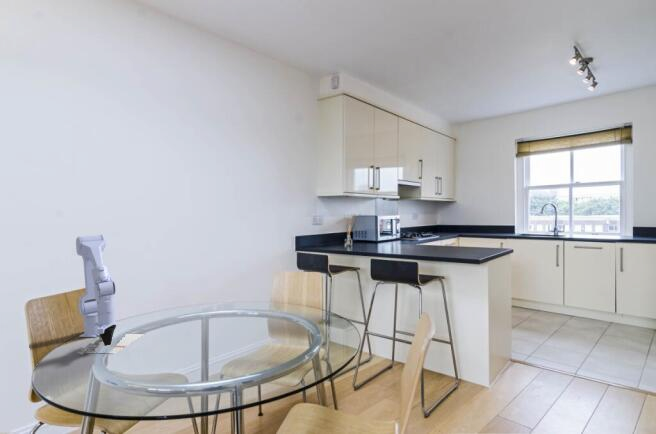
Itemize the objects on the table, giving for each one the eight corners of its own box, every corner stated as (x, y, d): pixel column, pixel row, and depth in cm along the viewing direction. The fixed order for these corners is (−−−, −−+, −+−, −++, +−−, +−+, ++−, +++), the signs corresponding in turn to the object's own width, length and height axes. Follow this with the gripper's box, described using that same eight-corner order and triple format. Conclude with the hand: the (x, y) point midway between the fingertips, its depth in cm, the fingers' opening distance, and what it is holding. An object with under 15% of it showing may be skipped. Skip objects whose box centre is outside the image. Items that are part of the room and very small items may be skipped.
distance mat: (120, 332, 155) (120, 332, 155) (145, 333, 154) (145, 333, 154) (84, 352, 135) (84, 352, 135) (113, 354, 134) (113, 353, 134)
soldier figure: (73, 356, 133) (94, 336, 145) (84, 363, 134) (104, 342, 146) (82, 345, 131) (103, 324, 142) (94, 352, 132) (113, 331, 143)
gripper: (100, 307, 144) (102, 338, 145) (87, 318, 131) (89, 354, 131) (120, 305, 146) (121, 336, 147) (108, 316, 132) (110, 351, 133)
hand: (107, 344), depth 139 cm, fingers closed
